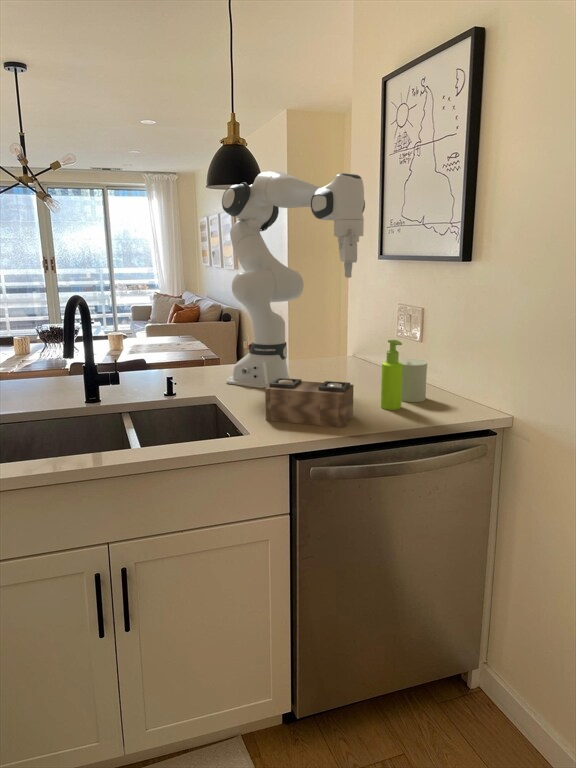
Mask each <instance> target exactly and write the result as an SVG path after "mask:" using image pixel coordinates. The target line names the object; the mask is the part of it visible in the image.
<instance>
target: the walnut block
mask: <svg viewBox="0 0 576 768" xmlns="http://www.w3.org/2000/svg"><path fill="white" fill-rule="evenodd" d="M280 380H292V381H293V383H292V384H284V383H279V381H280ZM330 383H339V384H342V387H327V384H330ZM264 388H265V389H264V391H265V392H264V394H265V399H264V401H265V402H264V403H265V421H269V422H270V421H272V422H283V423H292V424H293V423H294V424H303V425H313V426H322V427H323V426H325V427H334V426H335V427H336V428H345V427H346V425H347V424H348V423H349V421H351V419H352V418H353V417H354V384H351V382H346V381H345V382H344V381H329V380H325V381H324V382H319V381H304V380H302V379H301V378H300V379H299V378H290V379H288V378H277V379H276V380H274V381H272V382H271V383H269V386H268V387H264Z"/></svg>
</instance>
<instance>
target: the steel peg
mask: <svg viewBox="0 0 576 768" xmlns="http://www.w3.org/2000/svg"><path fill="white" fill-rule="evenodd" d="M327 387H342V384H339V383H330V384H327Z"/></svg>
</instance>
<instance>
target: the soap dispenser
mask: <svg viewBox="0 0 576 768" xmlns="http://www.w3.org/2000/svg"><path fill="white" fill-rule="evenodd" d="M387 342H388V343H389V350H387V351H386V361H384V362H382V363H381V385H380V386H381V388H380V389H381V392H380V393H381V396H380V408H381V409H384V410H389V411H395V410H400V409H402V401H401V395H402V368H403V364H402V363H399V362H398V361H399V355H400V354H399V351H398V350H397V346H402V345H403V343H402V342H401V341H400V340H396V339H388V340H387Z"/></svg>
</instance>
